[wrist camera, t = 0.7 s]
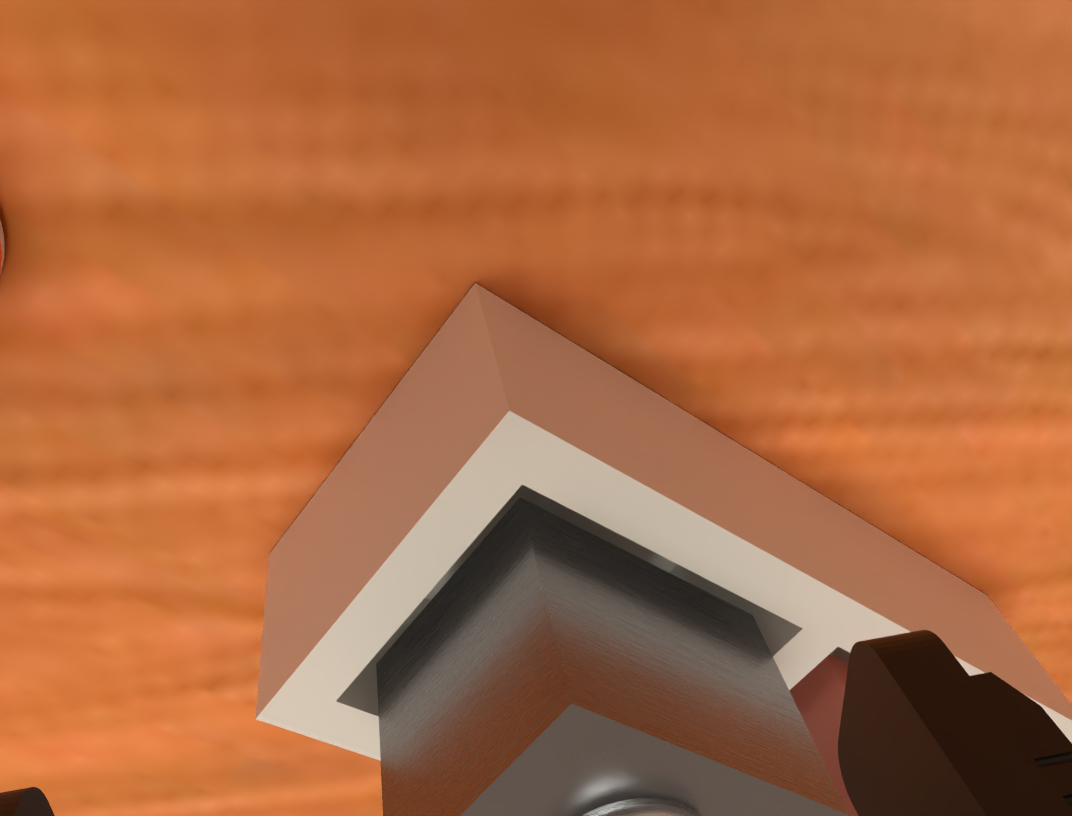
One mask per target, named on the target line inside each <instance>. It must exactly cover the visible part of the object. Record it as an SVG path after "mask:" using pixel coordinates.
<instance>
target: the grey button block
mask: <svg viewBox="0 0 1072 816" xmlns="http://www.w3.org/2000/svg"><path fill="white" fill-rule="evenodd" d="M376 670H377V692H378V713H379V735H380V757H381V778H382V800H383V816H850V814H849V812H848V810H847V808H846V806H845V804H844V802H843V800H842V798H841V796H840V794H839V792H838V790H837V788H836V786H835V784H834V781H833V779H832V777H831V775H830V773H829V771H828V769H827V767H826V765H825V763H824V761H823V759H822V757H821V755H820V753H819V751H818V749H817V747H816V744H815V742H814V740H813V738H812V736H811V734H810V732H809V730H808V728H807V726H806V724H805V722H804V720H803V718H802V716H801V714H800V712H799V710H798V707H797V705H796V703H795V701H794V699H793V697H792V695H791V693H790V691H789V689H788V687H787V685H786V683H785V681H784V679H783V677H782V675H781V673H780V670H779V668H778V666H777V664H776V662H775V660H774V658H773V656H772V654H771V652H770V650H769V648H768V646H767V644H766V642H765V640H764V638H763V636H762V633H761V631H760V629H759V627H758V625H757V623H756V621H755V619H754V617H753V615H751V614H749V613H747V612H746V611H744V610H742V609H740V608H738V607H736V606H734V605H732V604H730V603H728V602H726V601H724V600H722V599H720V598H718V597H716V596H714V595H712V594H710V593H708V592H706V591H704V590H702V589H700V588H698V587H696V586H694V585H692V584H690V583H688V582H686V581H684V580H682V579H680V578H678V577H676V576H674V575H672V574H670V573H668V572H666V571H664V570H662V569H660V568H659V567H657V566H655V565H653V564H651V563H649V562H647V561H645V560H643V559H641V558H639V557H637V556H635V555H633V554H631V553H629V552H627V551H625V550H623V549H621V548H619V547H617V546H615V545H613V544H611V543H609V542H607V541H605V540H603V539H601V538H599V537H597V536H595V535H593V534H591V533H589V532H587V531H585V530H583V529H581V528H579V527H577V526H575V525H573V524H571V523H570V522H568V521H566V520H564V519H562V518H560V517H558V516H556V515H554V514H552V513H550V512H548V511H546V510H544V509H542V508H540V507H538V506H536V505H534V504H532V503H530V502H528V501H526V500H524V499H522V498H519V499H518V500H517V501H516V503H515V504H514V505H513V506H512V507H511V508H510V510H509V511H508V512H507V513H506V514H505V515H504V516H503V518H502V519H501V520H500V521H499V522H498V523H497V525H496V526H495V527H494V528H493V529H492V530H491V532H490V533H489V534H488V535H487V536H486V537H485V538H484V540H483V541H482V542H481V543H480V544H479V545H478V547H477V548H476V549H475V550H474V551H473V552H472V554H471V555H470V556H469V557H468V558H467V559H466V560H465V562H464V563H463V564H462V565H461V566H460V567H459V569H458V570H457V571H456V572H455V573H454V574H453V575H452V577H451V578H450V579H449V580H448V581H447V582H446V584H445V585H444V586H443V587H442V588H441V589H440V591H439V592H438V593H437V594H436V595H435V596H434V597H433V599H432V600H431V601H430V602H429V603H428V604H427V606H426V607H425V608H424V609H423V610H422V611H421V613H420V614H419V615H418V616H417V617H416V618H415V619H414V621H413V622H412V623H411V624H410V625H409V626H408V628H407V629H406V630H405V631H404V632H403V633H402V635H401V636H400V637H399V638H398V639H397V640H396V641H395V643H394V644H393V645H392V646H391V647H390V648H389V650H388V651H387V652H386V653H385V654H384V655H383V657H382V658H381V659H380V660H379V661H378V662H377V663H376Z"/></svg>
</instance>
